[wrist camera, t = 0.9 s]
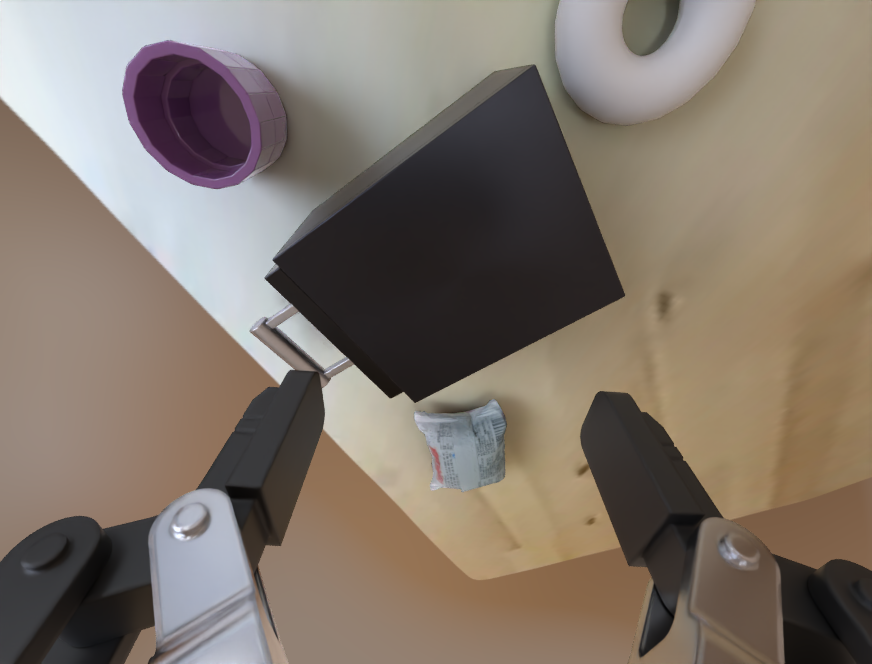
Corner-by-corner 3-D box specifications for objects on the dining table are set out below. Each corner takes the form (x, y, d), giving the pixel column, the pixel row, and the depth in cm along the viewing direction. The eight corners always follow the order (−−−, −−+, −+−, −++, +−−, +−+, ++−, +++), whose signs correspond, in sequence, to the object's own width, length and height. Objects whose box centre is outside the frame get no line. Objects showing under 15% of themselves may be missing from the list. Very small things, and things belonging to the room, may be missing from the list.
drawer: (347, 369, 32) (333, 429, 27) (245, 274, 27) (200, 324, 21) (538, 259, 27) (570, 305, 21) (461, 112, 21) (477, 121, 16)
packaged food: (429, 468, 43) (431, 508, 39) (413, 397, 36) (413, 437, 32) (501, 459, 42) (511, 498, 38) (499, 386, 36) (511, 424, 32)
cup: (157, 97, 21) (94, 100, 17) (228, 22, 19) (177, 5, 15) (242, 189, 24) (207, 210, 20) (310, 131, 22) (287, 142, 18)
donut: (510, 52, 21) (623, 156, 24) (523, 46, 18) (651, 165, 21) (651, -180, 16) (768, -13, 20) (700, -238, 13) (827, -31, 17)
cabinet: (415, 331, 31) (414, 403, 24) (312, 210, 25) (271, 260, 18) (571, 241, 27) (626, 296, 20) (495, 70, 21) (535, 63, 14)
